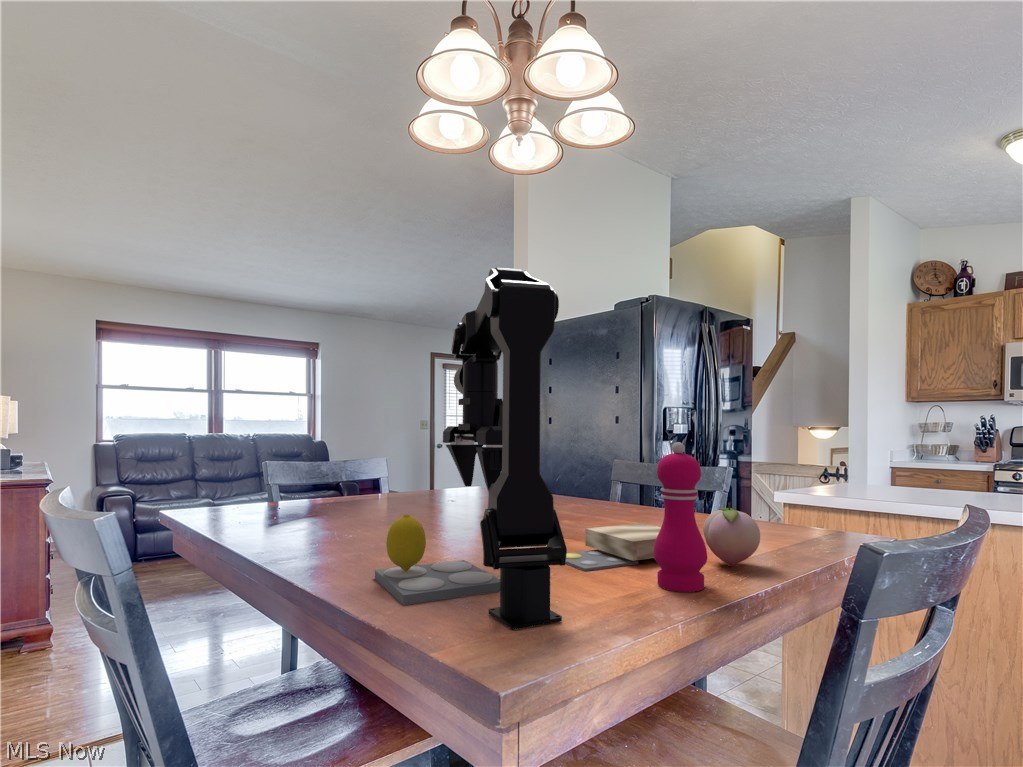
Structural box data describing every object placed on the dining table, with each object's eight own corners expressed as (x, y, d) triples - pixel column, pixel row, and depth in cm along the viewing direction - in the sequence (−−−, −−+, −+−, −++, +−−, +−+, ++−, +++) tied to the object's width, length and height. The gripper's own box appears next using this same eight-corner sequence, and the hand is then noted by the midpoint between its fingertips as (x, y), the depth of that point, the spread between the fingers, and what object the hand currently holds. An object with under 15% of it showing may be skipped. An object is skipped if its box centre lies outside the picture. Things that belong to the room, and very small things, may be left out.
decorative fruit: (770, 574, 86) (768, 507, 87) (714, 572, 87) (713, 506, 88) (749, 559, 96) (747, 499, 96) (699, 558, 96) (698, 498, 97)
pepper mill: (714, 584, 80) (711, 442, 82) (699, 596, 74) (696, 443, 76) (664, 576, 84) (662, 441, 86) (646, 587, 78) (644, 442, 80)
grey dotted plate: (638, 564, 92) (638, 560, 92) (585, 571, 87) (585, 567, 87) (599, 551, 101) (599, 548, 101) (549, 557, 97) (549, 554, 97)
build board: (504, 590, 77) (504, 580, 77) (403, 605, 70) (403, 593, 70) (463, 567, 89) (464, 558, 89) (374, 578, 83) (374, 568, 83)
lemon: (377, 573, 80) (378, 515, 81) (403, 565, 85) (404, 510, 86) (408, 577, 77) (409, 517, 78) (433, 569, 82) (433, 513, 83)
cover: (693, 552, 96) (693, 534, 96) (633, 560, 90) (632, 541, 90) (642, 539, 108) (642, 523, 108) (585, 545, 102) (585, 528, 102)
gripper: (552, 391, 89) (552, 492, 88) (499, 396, 105) (498, 481, 104) (487, 388, 84) (486, 496, 83) (442, 394, 100) (441, 484, 99)
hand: (479, 488), depth 92 cm, fingers open, 9 cm apart
